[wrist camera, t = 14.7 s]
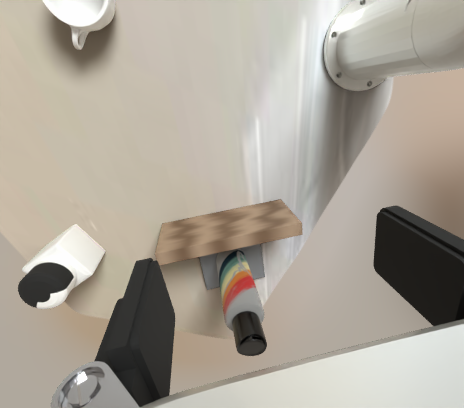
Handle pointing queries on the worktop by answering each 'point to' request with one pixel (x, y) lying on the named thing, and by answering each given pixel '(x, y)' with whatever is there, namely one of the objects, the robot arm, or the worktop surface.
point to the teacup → (82, 16)
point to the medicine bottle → (59, 268)
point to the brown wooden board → (226, 231)
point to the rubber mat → (252, 257)
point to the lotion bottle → (241, 302)
